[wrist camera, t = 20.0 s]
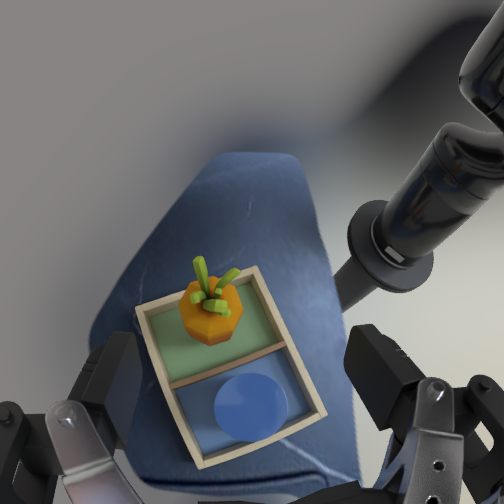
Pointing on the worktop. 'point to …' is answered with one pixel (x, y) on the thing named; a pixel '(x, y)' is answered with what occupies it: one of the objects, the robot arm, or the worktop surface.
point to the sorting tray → (226, 368)
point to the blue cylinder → (250, 407)
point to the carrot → (211, 306)
